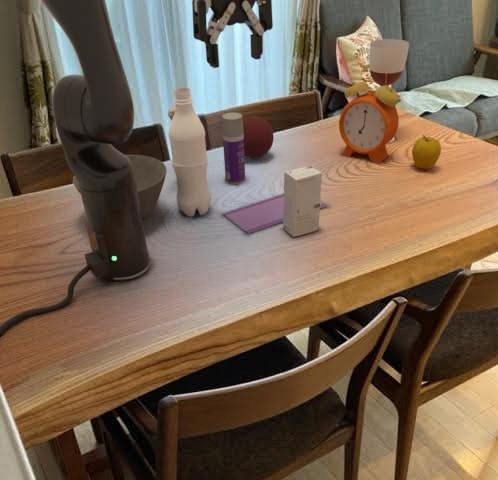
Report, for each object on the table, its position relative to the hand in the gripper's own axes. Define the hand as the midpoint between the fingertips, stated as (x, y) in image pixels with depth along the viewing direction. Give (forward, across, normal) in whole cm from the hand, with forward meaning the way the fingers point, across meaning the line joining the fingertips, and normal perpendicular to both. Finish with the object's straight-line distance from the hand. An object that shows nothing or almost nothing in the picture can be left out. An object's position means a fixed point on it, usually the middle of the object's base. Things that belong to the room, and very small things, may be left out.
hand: (235, 62), depth 94 cm
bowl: (+30, +20, -14) cm, 39 cm away
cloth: (+30, -7, +2) cm, 31 cm away
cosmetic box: (+30, -7, +12) cm, 33 cm away
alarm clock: (+30, -42, -9) cm, 53 cm away
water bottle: (+30, +7, -8) cm, 32 cm away
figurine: (+30, +2, -20) cm, 36 cm away
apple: (+30, -48, +5) cm, 57 cm away
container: (+30, -8, -16) cm, 35 cm away
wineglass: (+30, -53, -16) cm, 63 cm away
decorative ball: (+30, -19, -25) cm, 44 cm away
